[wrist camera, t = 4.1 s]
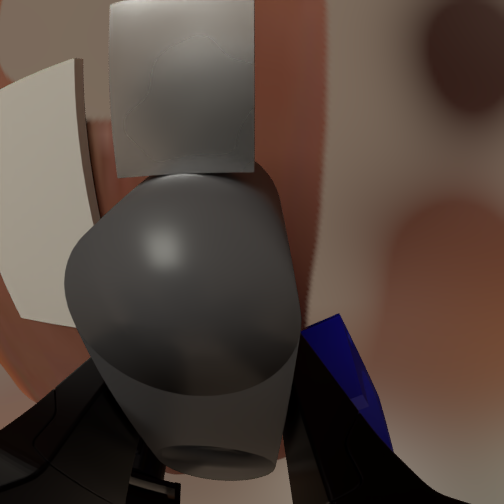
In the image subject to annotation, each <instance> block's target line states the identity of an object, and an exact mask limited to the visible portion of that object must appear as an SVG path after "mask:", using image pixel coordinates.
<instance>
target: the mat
mask: <svg viewBox="0 0 504 504" xmlns="http://www.w3.org/2000/svg"><path fill="white" fill-rule="evenodd" d="M83 86H84V84H83V59H79V58H73V59H70V60H67V61H65V62H62V63H59V64H56V65H54V66H51V67H48V68H46V69H44V70H41V71H38V72H36V73H34V74H32V75H29V76H27V77H25V78H22V79H20V80H18V81H16V82H14V83H12V84H10V85H8V86H6V87H4V88H2V89H0V273H1V275H2V278H3V280H4V282H5V285H6V287H7V289H8V291H9V293H10V296H11V298H12V300H13V302H14V304H15V306H16V308H17V310H18V312H19V314H20V316H21V318H25V319H30V320H35V321H41V322H46V323H52V324H57V325H63V326H70V327H76V326H75V324H74V321H73V319H72V317H71V314H70V312H69V309H68V306H67V302H66V297H65V289H64V277H65V270H66V265H67V261H68V259H69V256H70V254H71V252H72V250H73V248H74V247H75V245H76V244H77V242H78V241H79V239H80V238H81V237H82V236H83V235H84V234H85V233H86V232H87V231H88V230H90V229H91V228H92V227H93V226H94V225H95V224H96V223H97V222H98V221H99V220H100V215H99V210H98V204H97V199H96V194H95V188H94V182H93V176H92V169H91V163H90V155H89V147H88V139H87V129H86V118H85V104H84V88H83Z"/></svg>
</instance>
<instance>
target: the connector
mask: <svg viewBox="0 0 504 504" xmlns="http://www.w3.org/2000/svg"><path fill="white" fill-rule="evenodd" d="M109 92H110V109H111V123H112V134H113V144H114V153H115V162H116V170H117V177H118V178H125V177H137V176H149V177H147V178H146V179H145V180H144V181H143V182H141V183H140V184H139V185H138V186H137V187H136V188H134V189H133V190H132V191H131V192H130V193H129V194H127V195H126V196H125V197H124V198H123V199H122V200H121V201H120V202H118V203H117V204H116V205H115V206H114V207H113V208H112V209H111V210H110V211H109V212H107V213H106V214H105V215H104V216H103V217H102V218H101V219H100V220H99V221H98V222H97V223H96V224H95V225H94V226H93V227H92V228H91V229H90V230H88V231H87V232H86V233H85V234H84V235H83V236H82V237H81V238H80V239H79V241H78V242H77V244H76V245H75V247H74V248H73V250H72V252H71V254H70V256H69V259H68V261H67V265H66V270H65V277H64V289H65V297H66V302H67V306H68V309H69V312H70V314H71V317H72V319H73V321H74V324H75V326H76V328H77V330H78V332H79V334H80V336H81V338H82V340H83V342H84V344H85V346H86V348H87V350H88V352H89V354H90V356H91V358H92V360H93V362H94V363H95V365H96V367H97V369H98V371H99V372H100V374H101V376H102V378H103V379H104V381H105V383H106V384H107V386H108V388H109V390H110V391H111V393H112V394H113V396H114V398H115V399H116V401H117V402H118V404H119V406H120V407H121V409H122V410H123V412H124V413H125V415H126V416H127V418H128V419H129V421H130V422H131V423H132V425H133V426H134V428H135V429H136V431H137V432H138V433H139V435H140V436H141V437H142V439H143V440H144V442H145V443H146V444H147V446H148V447H149V448H150V449H151V451H152V452H153V453H154V455H155V456H156V457H157V458H158V460H159V461H160V462H162V463H163V464H164V465H166V466H168V467H170V468H171V469H174V470H176V471H179V472H181V473H184V474H188V475H191V476H195V477H200V478H205V479H212V480H225V481H237V480H249V479H255V478H259V477H262V476H266V475H268V474H270V473H271V472H273V470H274V469H275V466H276V462H277V457H278V453H279V448H280V443H281V439H282V434H283V429H284V424H285V419H286V414H287V409H288V404H289V398H290V393H291V387H292V382H293V376H294V370H295V364H296V358H297V352H298V345H299V339H300V332H301V312H300V305H299V299H298V293H297V287H296V281H295V276H294V270H293V265H292V259H291V254H290V249H289V243H288V238H287V233H286V228H285V222H284V217H283V212H282V207H281V202H280V198H279V195H278V192H277V189H276V187H275V185H274V183H273V181H272V179H271V178H270V176H269V175H268V174H267V172H266V171H265V170H264V169H263V168H262V167H261V166H260V165H259V164H258V163H256V162H255V1H254V0H125V1H121V2H118V3H114V4H111V5H110V20H109Z"/></svg>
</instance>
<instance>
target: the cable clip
mask: <svg viewBox="0 0 504 504" xmlns="http://www.w3.org/2000/svg"><path fill="white" fill-rule="evenodd" d="M301 334H302V335H303V337H304V338H305V339H306V341H307V342H308V343H309V345H310V346H311V347H312V349H313V350H314V351H315V353H316V354H317V355H318V357H319V358H320V359H321V361H322V362H323V364H324V365H325V366H326V368H327V369H328V370H329V372H330V373H331V374H332V376H333V377H334V378H335V380H336V381H337V382H338V384H339V385H340V386H341V388H342V389H343V390H344V392H345V393H346V394H347V396H348V397H349V398H350V400H351V401H352V402H353V404H354V405H355V406H356V408H357V409H358V410H359V413H361V414H362V416H363V417H364V418H365V420H366V421H367V422H368V424H369V425H370V426H371V427H372V429H373V430H374V431H375V432H376V434H377V435H378V436H379V437H380V438H381V439H382V441H383V442H384V443H385V444H386V445H387V446H388V447H389V448H390V449H391V450H392V451H393V447H392V443H391V440H390V436H389V432H388V429H387V424H386V421H385V417H384V413H383V410H382V406H381V403H380V399H379V396H378V394H377V391H376V389H375V387H374V385H373V383H372V380H371V378H370V376H369V374H368V372H367V370H366V367H365V365H364V363H363V361H362V359H361V357H360V355H359V353H358V350H357V348H356V346H355V344H354V342H353V340H352V338H351V336H350V334H349V332H348V330H347V328H346V326H345V324H344V322H343V320H342V318H341V316H340V314H339V313H338V314H335V315H333V316H331V317H329V318H326V319H324V320H322V321H319V322H317V323H314V324H312V325H310V326H307V329H306V330H303V331H301Z"/></svg>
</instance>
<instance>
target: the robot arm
mask: <svg viewBox="0 0 504 504" xmlns="http://www.w3.org/2000/svg"><path fill="white" fill-rule="evenodd" d="M283 440H284V446H285V453H286V460H287V467H288V473H289V479H290V487H291V493H292V500H293V504H469V503H466V502H463V501H460V500H457V499H454V498H451V497H448V496H445V495H443V494H440V493H438V492H437V491H435V490H433V489H432V488H431V487H429V486H428V485H427V484H426V483H424V482H423V481H422V480H421V479H420V478H419V477H418V476H417V475H416V474H415V473H414V472H413V471H412V470H411V469H410V468H409V467H408V466H407V465H406V464H405V463H404V462H403V461H402V460H401V459H400V458H399V457H398V456H397V455H396V454H395V453H394V452H393V451H392V450H391V449H390V448H389V447H388V446H387V445H386V444H385V443H384V442H383V441H382V439H381V438H380V437H379V436H378V435H377V434H376V432H375V431H374V430H373V429H372V427H371V426H370V425H369V424H368V422H367V421H366V420H365V418H364V417H363V416H362V414H361V413H359V410H358V409H357V408H356V406H355V405H354V404H353V402H352V401H351V400H350V398H349V397H348V396H347V394H346V393H345V392H344V390H343V389H342V388H341V386H340V385H339V384H338V382H337V381H336V380H335V378H334V377H333V376H332V374H331V373H330V372H329V370H328V369H327V368H326V366H325V365H324V364H323V362H322V361H321V359H320V358H319V357H318V355H317V354H316V353H315V351H314V350H313V349H312V347H311V346H310V345H309V343H308V342H307V341H306V339H305V338H304V337H303V335H302V334H301V332H300V339H299V345H298V352H297V358H296V364H295V370H294V376H293V382H292V387H291V393H290V398H289V404H288V409H287V414H286V419H285V424H284V429H283ZM165 469H166V465H164V464H163V463H162V462H160V461H159V460H158V458H157V457H156V456H155V455H154V453H153V452H152V451H151V449H150V448H149V447H148V446H147V444H146V443H145V442H144V440H143V439H142V437H141V436H140V435H139V433H138V432H137V431H136V429H135V428H134V426H133V425H132V423H131V422H130V421H129V419H128V418H127V416H126V415H125V413H124V412H123V410H122V409H121V407H120V406H119V404H118V402H117V401H116V399H115V398H114V396H113V394H112V393H111V391H110V390H109V388H108V386H107V384H106V383H105V381H104V379H103V378H102V376H101V374H100V372H99V371H98V369H97V367H96V365H95V363H94V362H93V360H92V358H91V357H90V358H89V359H88V360H87V361H86V362H84V363H83V364H82V365H81V366H80V367H79V368H77V369H76V370H75V371H74V372H73V373H72V374H70V375H69V376H68V377H67V378H66V379H65V380H63V381H62V382H61V383H60V384H59V385H58V386H57V387H56V388H55V389H53V390H52V391H51V392H50V393H48V394H47V395H46V396H45V397H44V398H43V399H41V400H40V401H39V402H38V403H37V404H35V405H34V406H33V407H32V408H30V409H29V410H28V411H26V412H25V413H24V414H23V415H21V416H20V417H18V418H17V419H15V420H14V421H13V422H11V423H10V424H8V425H7V426H6V427H4V428H3V429H1V430H0V504H180V491H181V484H180V483H176V482H175V483H173V482H169V481H165V480H164V475H165Z"/></svg>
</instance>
